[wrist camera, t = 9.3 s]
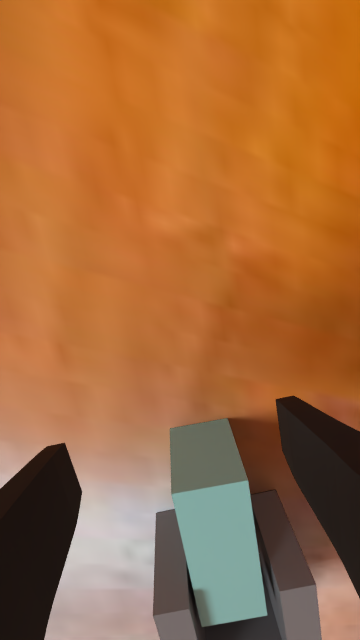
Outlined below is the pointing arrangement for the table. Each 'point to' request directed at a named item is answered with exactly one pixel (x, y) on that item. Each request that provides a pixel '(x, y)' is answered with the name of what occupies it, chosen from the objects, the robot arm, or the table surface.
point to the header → (277, 575)
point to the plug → (216, 522)
